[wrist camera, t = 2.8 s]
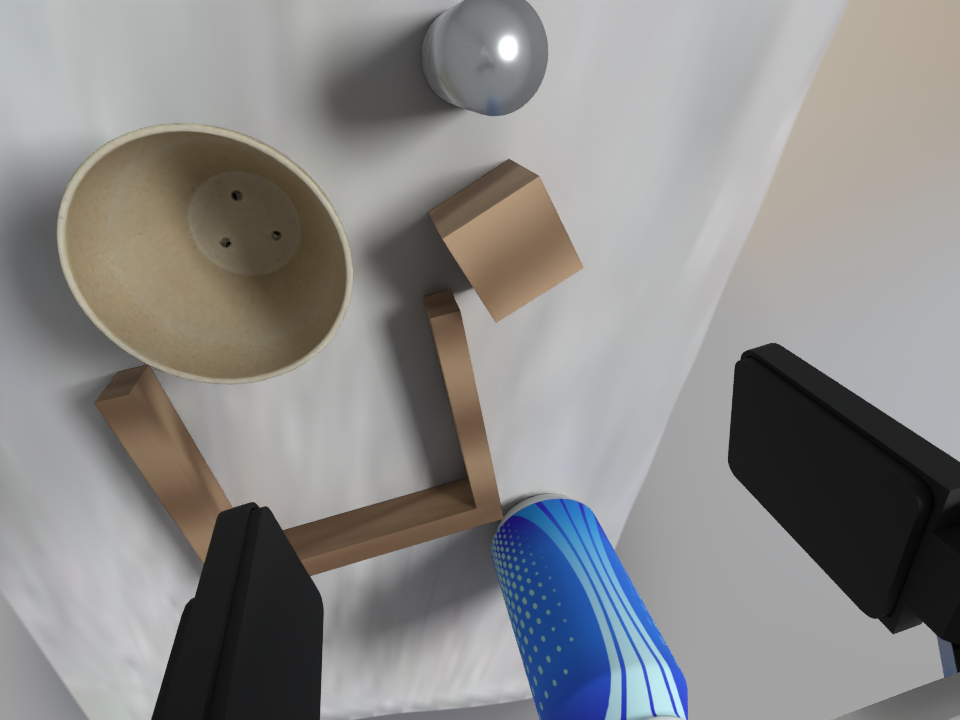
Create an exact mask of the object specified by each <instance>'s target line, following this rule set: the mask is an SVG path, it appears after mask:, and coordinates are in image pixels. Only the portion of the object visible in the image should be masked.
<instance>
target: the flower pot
mask: <svg viewBox="0 0 960 720" xmlns="http://www.w3.org/2000/svg"><path fill="white" fill-rule="evenodd" d="M233 192H234V193H235V194H236V195H237V200H235V199H234V198H233V196H232V193H233ZM274 231H277V232H279V233H280V234H275V233H274ZM56 239H57V249H58V255H59V260H60V264H61V267H62V271H63V274H64V277H65V280H66V282H67V284H68V286H69V289H70V290H71V292H72V294H73V296H74V298H75V299H76V301H77V303H78V304H79V305H80V307H81V308H82V310H83V311H84V313H85V314H86V315H87V316H88V317H89V319H90V320H91V321H92V323H93V324H94V325H95V326H96V327H98V329H99V330H100V331H101V332H102V333H103V334H104V335H106V336H107V337H108V338H109V339H110V340H111V341H112V342H113V343H115V344H116V345H117V346H118V347H120V348H121V349H123V350H124V351H125V352H127V353H128V354H130V355H132V356H133V357H134V358H136V359H138V360H140V361H142V362H143V363H145V364H147V365H149V366H151V367H154V368H156V369H158V370H160V371H163V372H166V373H169V374H171V375H174V376H177V377H180V378H184V379H188V380H193V381H198V382H204V383H213V384H245V383H253V382H258V381H263V380H267V379H270V378H274V377H277V376H280V375H282V374H285V373H287V372H290V371H292V370H294V369H296V368H297V367H299V366H301V365H303V364H304V363H306V362H307V361H309V360H310V359H311V358H313V357H314V356H315V355H316V354H317V353H318V352H320V351H321V350H322V349H323V348H324V347H325V346H326V345H327V344H328V342H329V341H330V340H331V339H332V337H333V336H334V334H335V333H336V332H337V330H338V328H339V327H340V325H341V323H342V321H343V319H344V316H345V314H346V312H347V309H348V306H349V302H350V298H351V292H352V284H353V266H352V258H351V252H350V248H349V244H348V240H347V237H346V234H345V231H344V229H343V226H342V223H341V221H340V219H339V217H338V215H337V213H336V211H335V209H334V207H333V206H332V204H331V202H330V201H329V199H328V198H327V196H326V195H325V193H324V192H323V191H322V189H321V188H320V187H319V186H318V184H317V183H316V182H315V181H314V180H313V179H312V178H311V177H310V176H309V175H308V174H307V173H306V172H305V171H304V170H303V169H302V168H301V167H300V166H299V165H298V164H296V163H295V162H294V161H292V160H291V159H290V158H288V157H287V156H286V155H284V154H283V153H281V152H280V151H278V150H276V149H275V148H273V147H271V146H269V145H267V144H265V143H263V142H261V141H259V140H257V139H255V138H252V137H250V136H247V135H245V134H242V133H239V132H235V131H232V130H228V129H224V128H219V127H214V126H208V125H198V124H181V123H175V124H163V125H156V126H150V127H145V128H141V129H138V130H135V131H132V132H129V133H126V134H124V135H121V136H120V137H117V138H115V139H113V140H111V141H110V142H108V143H106V144H105V145H103V146H102V147H100V148H99V149H98V150H96V151H95V152H94V153H93V154H92V155H90V156H89V157H88V158H87V159H86V160H85V162H84V163H83V164H82V165H81V166H80V167H79V168H78V169H77V171H76V172H75V173H74V175H73V176H72V178H71V180H70V182H69V183H68V185H67V187H66V189H65V192H64V194H63V197H62V200H61V204H60V207H59V212H58V219H57V230H56ZM227 242H231V244H230V245H229V246H228V247H226V243H227Z"/></svg>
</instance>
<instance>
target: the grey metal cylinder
mask: <svg viewBox="0 0 960 720" xmlns="http://www.w3.org/2000/svg"><path fill="white" fill-rule="evenodd" d="M421 57H422V67H423V71H424V74H425V77H426V79H427V81H428V83H429V85H430V86H431V88H432V89H433V91H434V92H435V93H436V94H437V95H438V96H439V97H440V98H442V99H443V100H445V101H446V102H448V103H451V104H453V105H456V106H459V107H462V108H465V109H468V110H471V111H474V112H477V113H480V114H483V115H488V116H500V115H506V114H509V113H512V112H514V111H516V110H518V109H519V108H521V107H522V106H524V105H525V104H526V103H527V102H528V101H529V100H530V99H531V98H532V97H533V96H534V94H535V93H536V92H537V90H538V88H539V86H540V85H541V82H542V80H543V78H544V75H545V71H546V67H547V61H548V43H547V37H546V33H545V29H544V27H543V24H542V22H541V20H540V18H539V16H538V14H537V13H536V11H535V10H534V9H533V7H532V6H531V5H530V4H529V3H528V2H527V1H525V0H464V1H462V2H460V3H459V4H457V5H455V6H453V7H452V8H450V9H448V10H446V11H445V12H443V13H442V14H440V15H439V16H438V17H437V18H436V19H435V20H434V21H433V22H432V23H431V25H430V27H429V28H428V30H427V32H426V34H425V37H424V40H423V45H422V53H421Z"/></svg>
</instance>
